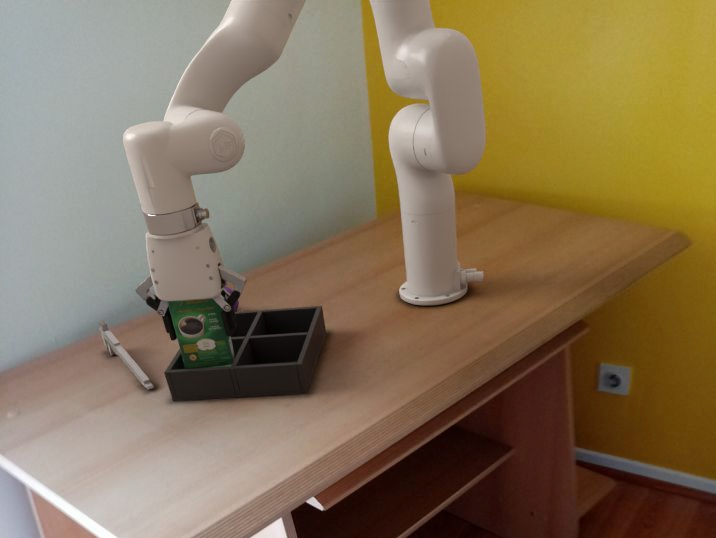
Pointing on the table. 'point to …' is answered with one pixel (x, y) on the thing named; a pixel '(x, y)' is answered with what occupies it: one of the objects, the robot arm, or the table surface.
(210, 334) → the coffee box
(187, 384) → the organizer
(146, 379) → the caliper
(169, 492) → the table surface
